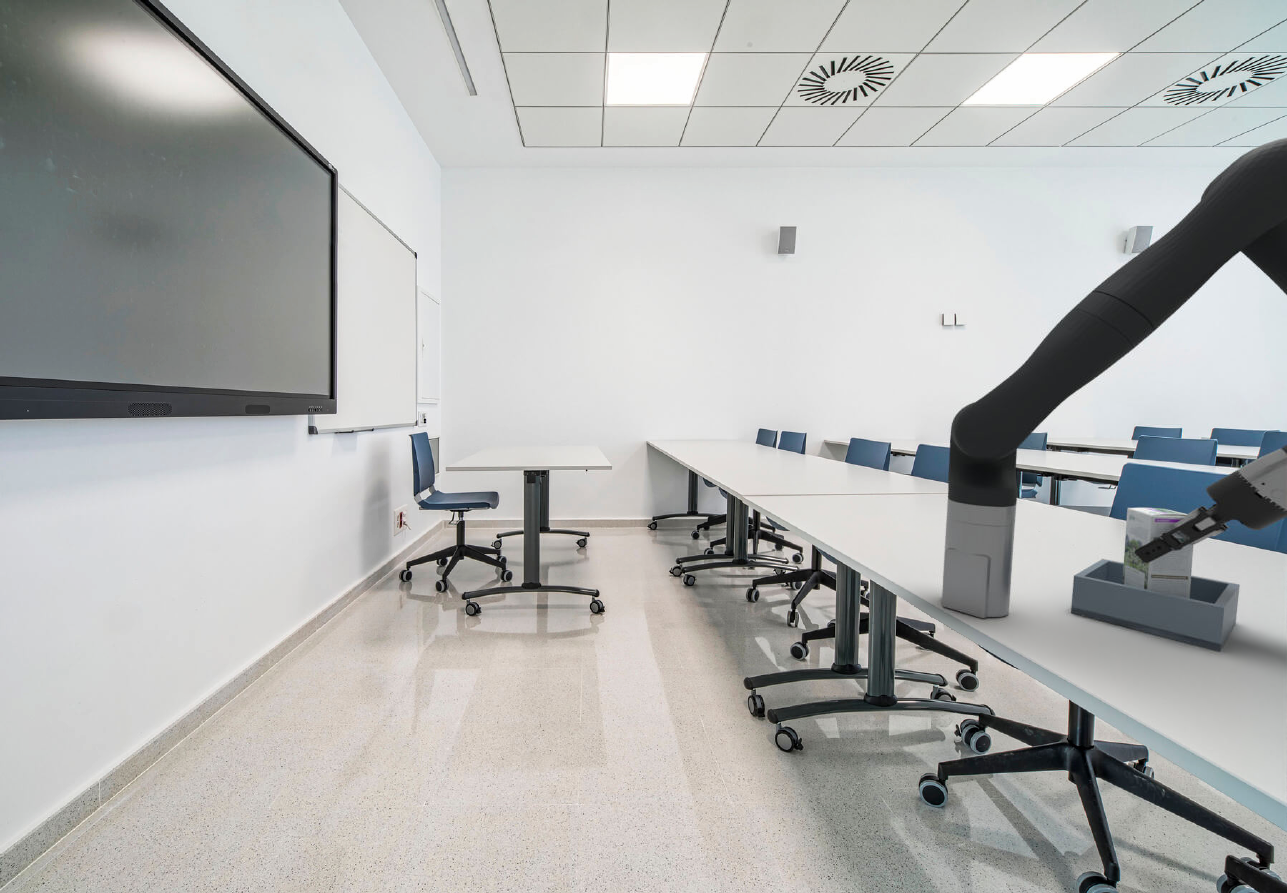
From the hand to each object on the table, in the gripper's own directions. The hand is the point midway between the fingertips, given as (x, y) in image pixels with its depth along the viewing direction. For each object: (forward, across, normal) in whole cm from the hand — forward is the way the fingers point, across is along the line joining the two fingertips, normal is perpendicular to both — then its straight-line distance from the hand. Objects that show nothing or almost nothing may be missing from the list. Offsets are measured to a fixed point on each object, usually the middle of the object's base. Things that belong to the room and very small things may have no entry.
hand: (1146, 552), depth 82 cm
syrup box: (+5, 0, +6) cm, 8 cm away
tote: (+6, 0, +8) cm, 10 cm away
